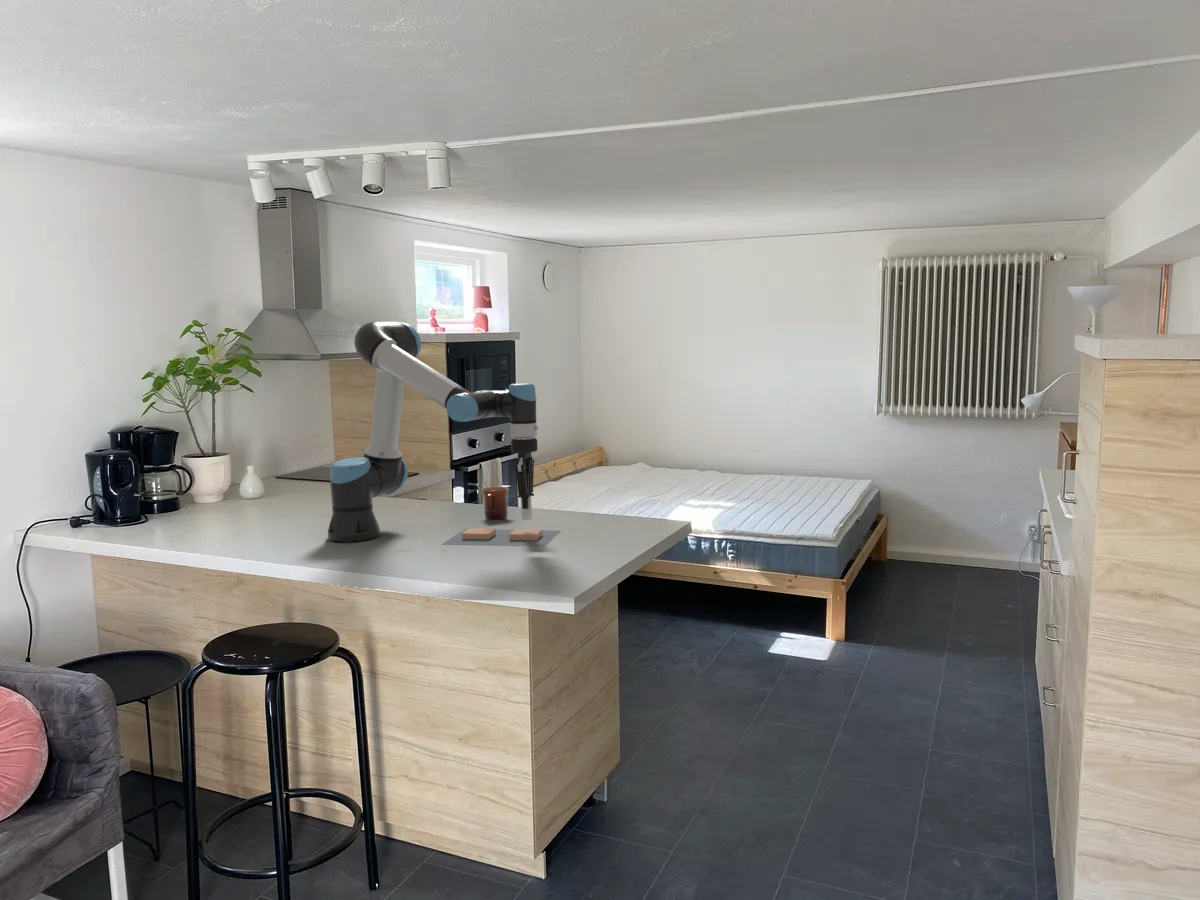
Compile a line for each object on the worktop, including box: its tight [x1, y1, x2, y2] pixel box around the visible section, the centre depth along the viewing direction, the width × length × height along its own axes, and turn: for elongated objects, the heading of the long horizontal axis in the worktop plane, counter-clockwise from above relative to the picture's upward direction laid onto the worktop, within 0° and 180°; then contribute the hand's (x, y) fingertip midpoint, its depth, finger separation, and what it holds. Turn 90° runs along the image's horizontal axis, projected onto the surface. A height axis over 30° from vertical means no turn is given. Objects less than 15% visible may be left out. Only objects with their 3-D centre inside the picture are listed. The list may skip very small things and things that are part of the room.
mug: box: [481, 486, 509, 521], centre depth 281 cm, size 12×9×10 cm
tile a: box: [462, 527, 497, 540], centre depth 253 cm, size 8×2×7 cm
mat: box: [441, 528, 561, 547], centre depth 252 cm, size 30×20×1 cm, turn 80°
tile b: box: [509, 528, 543, 541], centre depth 251 cm, size 8×2×7 cm
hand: (526, 519), depth 252 cm, fingers closed
